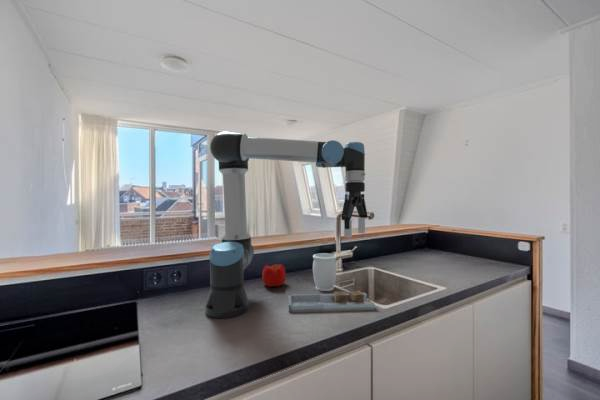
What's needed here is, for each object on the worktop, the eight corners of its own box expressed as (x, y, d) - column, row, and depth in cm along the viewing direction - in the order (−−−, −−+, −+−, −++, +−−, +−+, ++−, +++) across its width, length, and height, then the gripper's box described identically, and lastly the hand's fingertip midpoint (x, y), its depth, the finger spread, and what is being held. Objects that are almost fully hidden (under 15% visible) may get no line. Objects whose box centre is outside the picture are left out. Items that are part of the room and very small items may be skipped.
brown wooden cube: (353, 306, 100) (353, 295, 100) (349, 302, 104) (349, 291, 104) (363, 305, 101) (363, 294, 101) (359, 301, 105) (359, 290, 105)
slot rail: (288, 314, 96) (288, 306, 96) (288, 302, 107) (288, 294, 107) (374, 312, 97) (374, 303, 97) (365, 300, 108) (365, 292, 108)
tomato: (265, 290, 120) (265, 269, 120) (260, 282, 131) (260, 263, 131) (289, 287, 123) (289, 267, 123) (282, 280, 135) (282, 261, 134)
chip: (335, 306, 100) (335, 295, 100) (333, 302, 104) (333, 291, 104) (346, 306, 100) (346, 295, 100) (344, 301, 104) (344, 291, 104)
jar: (335, 295, 114) (335, 258, 114) (310, 293, 116) (310, 257, 116) (337, 286, 125) (337, 253, 124) (314, 285, 127) (314, 252, 126)
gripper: (350, 180, 98) (351, 240, 99) (374, 182, 119) (374, 232, 119) (331, 181, 103) (332, 238, 103) (358, 183, 123) (358, 230, 124)
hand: (355, 235), depth 111 cm, fingers open, 13 cm apart
